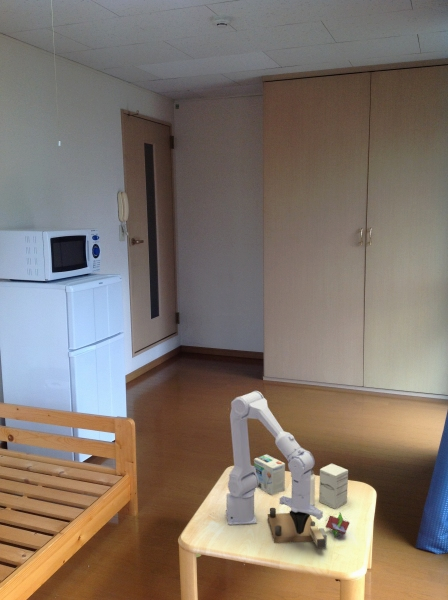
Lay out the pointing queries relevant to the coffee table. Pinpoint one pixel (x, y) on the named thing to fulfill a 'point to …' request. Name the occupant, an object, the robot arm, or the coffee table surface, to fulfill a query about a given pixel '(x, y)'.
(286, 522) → the stool seat
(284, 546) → the coffee table surface
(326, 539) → the block
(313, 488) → the can
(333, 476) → the supplement box
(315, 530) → the hinged leg
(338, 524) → the geometric puzzle
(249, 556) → the coffee table surface
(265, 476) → the light bulb box
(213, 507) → the coffee table surface
